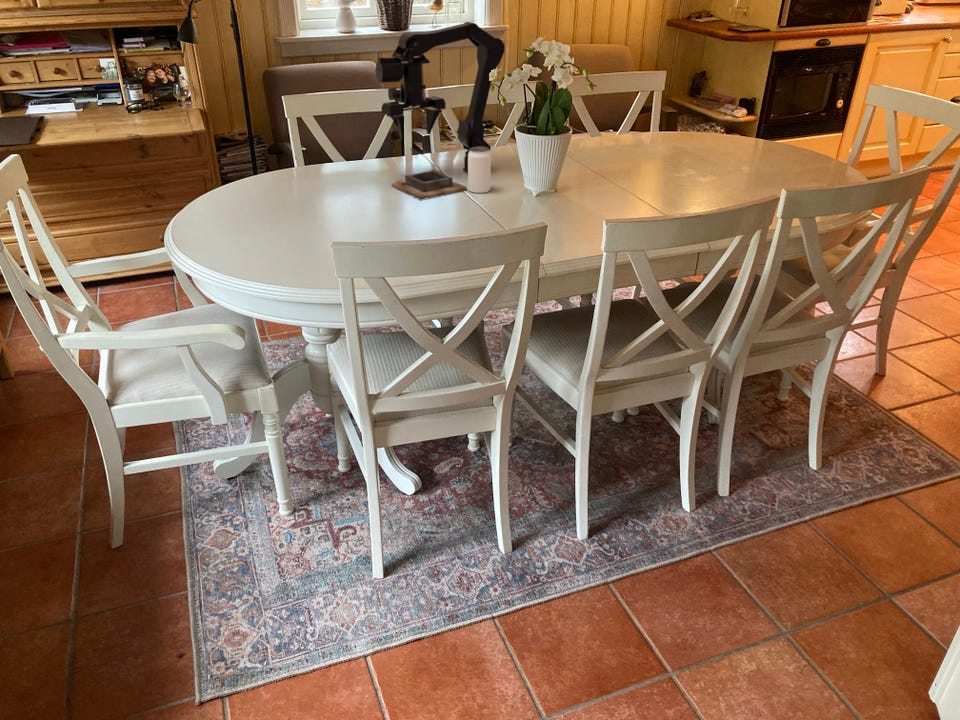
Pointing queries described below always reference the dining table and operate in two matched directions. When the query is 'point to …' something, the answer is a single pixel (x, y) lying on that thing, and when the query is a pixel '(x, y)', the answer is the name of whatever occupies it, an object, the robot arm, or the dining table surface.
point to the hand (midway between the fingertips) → (415, 136)
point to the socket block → (428, 185)
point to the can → (479, 169)
